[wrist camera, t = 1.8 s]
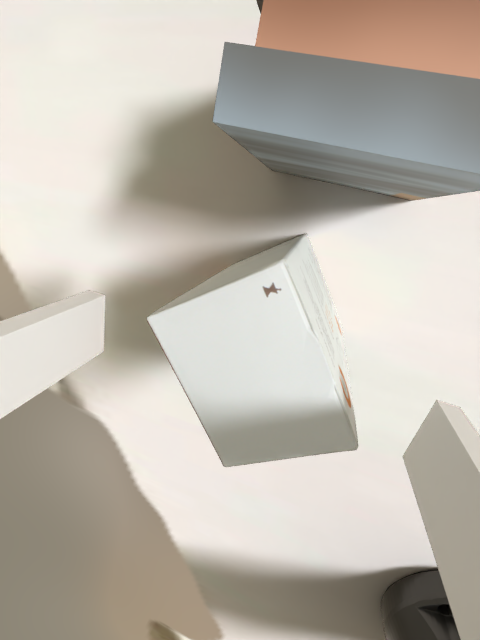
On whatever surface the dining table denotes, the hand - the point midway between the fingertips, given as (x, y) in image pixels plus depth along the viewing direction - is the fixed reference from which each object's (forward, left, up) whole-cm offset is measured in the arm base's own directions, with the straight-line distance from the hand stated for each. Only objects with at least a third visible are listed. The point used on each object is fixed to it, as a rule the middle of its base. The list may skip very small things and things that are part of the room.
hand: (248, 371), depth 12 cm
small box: (0, 0, -13) cm, 13 cm away
